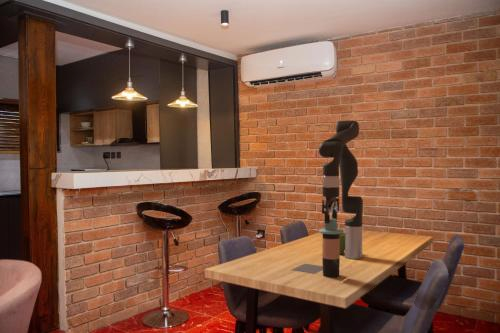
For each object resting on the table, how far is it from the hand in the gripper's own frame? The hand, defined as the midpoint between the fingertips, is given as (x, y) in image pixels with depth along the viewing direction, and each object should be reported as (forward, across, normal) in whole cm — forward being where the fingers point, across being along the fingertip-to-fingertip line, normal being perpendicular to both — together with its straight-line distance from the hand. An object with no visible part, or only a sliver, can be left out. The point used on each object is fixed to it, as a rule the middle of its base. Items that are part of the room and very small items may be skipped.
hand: (330, 222), depth 184 cm
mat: (+24, -6, -14) cm, 29 cm away
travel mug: (+25, 0, 0) cm, 25 cm away
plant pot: (+25, -48, -16) cm, 56 cm away
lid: (+4, 0, 0) cm, 4 cm away
